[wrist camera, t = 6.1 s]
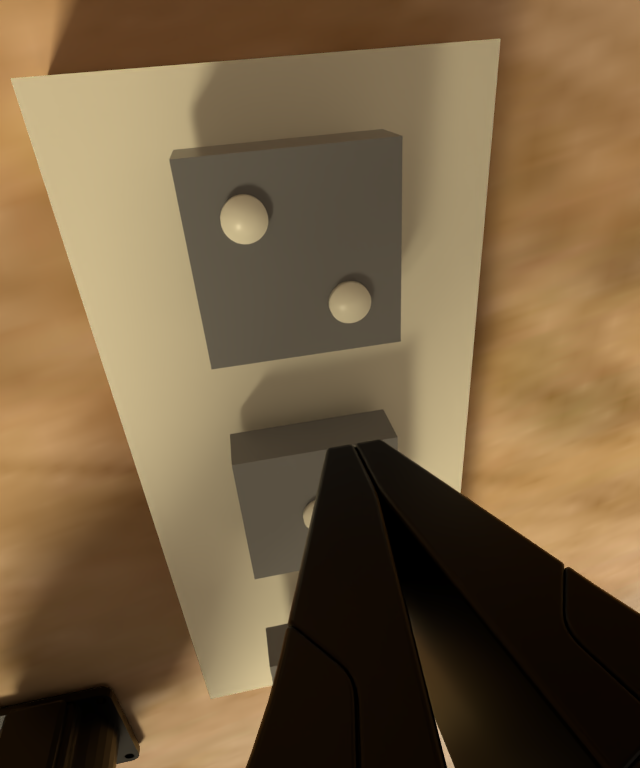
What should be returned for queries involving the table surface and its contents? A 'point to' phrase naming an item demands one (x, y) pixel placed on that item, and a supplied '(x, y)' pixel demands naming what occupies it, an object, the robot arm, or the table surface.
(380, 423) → the button one pip
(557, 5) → the table surface
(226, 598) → the panel
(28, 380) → the table surface
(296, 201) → the button two pips
